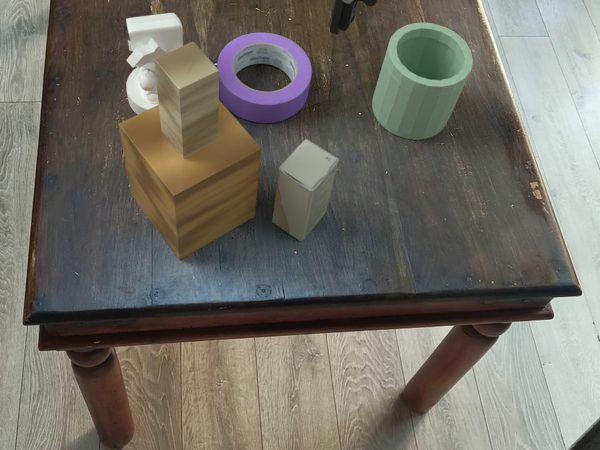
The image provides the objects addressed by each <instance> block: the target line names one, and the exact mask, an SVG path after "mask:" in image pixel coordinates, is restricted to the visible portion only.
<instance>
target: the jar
mask: <svg viewBox="0 0 600 450" xmlns="http://www.w3.org/2000/svg"><path fill="white" fill-rule="evenodd" d="M383 58H384V59H383V62H382V65H381V69H380V72H379V75H378V79H377V82H376V86H375V89H374V92H373V95H372V100H371V107H372V112H373V115H374V117H375V119H376V121H377V122H378V123H379V125H380V126H382V127H383V128H384V129H385V130H386V131H388V132H389V133H391V134H393V135H394V136H397V137H400V138H402V139H406V140H413V141H414V140H415V141H416V140H418V141H419V140H420V141H421V140H426V139H430V138H433V137H434V136H437V135H438V134H440V133H441V132H442V131H443V130H444V129H445V127H446V126H447V123H448V122H449V120H450V118H451V116H452V114H453V112H454V109H455V107H456V104H457V103H458V101H459V98H460V96H461V94H462V92H463V89H464V88H465V85H466V83H467V80H468V78H469V76H470V74H471V71H472V68H473V65H474V64H473V63H474V58H473V53H472V50H471V48H470V46H469V45H468V43H467V41H466V40H464V39H463V38H462V37H461V36H460V35H459V34H458V33H457V32H455V31H453V30H451V29H450V28H448V27H446V26H444V25H439V24H436V23H432V22H415V23H409V24H406V25H404V26H402V27H400V28H398V29H396V31H395V32H394V33H393V34H392V35H391V36H390V39H389V42H388V45H387V49H386V51H385V54H384V57H383Z"/></svg>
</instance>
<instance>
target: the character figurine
mask: <svg viewBox="0 0 600 450" xmlns="http://www.w3.org/2000/svg"><path fill="white" fill-rule="evenodd" d="M125 21H126V22H125V23H126V27H127V33H128V38H129V39H128V40H127V44H128V50H129V51H130V52H132V53H131V54H130V55H129V56H128V57H127V59H126V60H125V61H126V62H127V64H128V65H130V66H131V68H133V70H132V71H131V72H130V74H129V75H128V77H127V80H126V84H125V85H126V86H125V87H126V94H127V101H128V105H129V106H130V108H131V109H132V111H133V112H134V113H135V114H136V115H138V114H140V113H142V112H144V111H146V110H148V109H151V108H153V107H155V106H157V105H159V101H158V92H157V82H156V72H155V63H154V59H156V58H158V57H160V56H162V55H164V54H167V53H169V52H171V51H173V50H175V49H178V48H180V47H182V46H184V31H183V30H184V27H183V24H182V21H181V19H180V18H179V17H178V16H177V14H176V13H175V12H168V13H158V14H149V15H141V16H133V17H128V18H126V19H125ZM134 68H135V69H134Z"/></svg>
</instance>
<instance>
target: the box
mask: <svg viewBox="0 0 600 450" xmlns="http://www.w3.org/2000/svg"><path fill="white" fill-rule="evenodd" d="M339 160H340V159H339V158H338V157H336V156H335V155H333V154H332V153H330V152H329V151H327V150H326V149H324V148H323V147H321V146H320V145H317V144H316V143H314V142H312V141H311V140H309V139H307V138H305V139H304V140H303V141H302V142H301V143H300V144H299V145H298V146H297V147H296V148H295V149H294V150H293V151H292V153H291V154H290V155H289V156H288V157H287V158H286V160H284V161H283V162H282V164H281V165H280V166H279V168H278V172H277V173H278V174H277V180H276V189H275V196H274V204H273V213H272V220H271V221H272V224H274V225H276V226H277V227H279V229H282V231H284V232H285V233H287V234H288V235H290V236H292V237H293V238H294V239H296V240H297V241H299V242H302V241H304V240H305V239H306V237H307V236H308V235H309V234H311V232H312V231H313V229H314V228H315V227H316V226H317V225H318V223H319V222H320V221H321V220H322V218H323V217H324V216H325V214H326V212H327V208H328V206H329V205H328V204H329V200H330V196H331V193H332V189H333V186H334V181H335V178H336V173H337V169H338V166H339V162H340V161H339Z"/></svg>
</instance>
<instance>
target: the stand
mask: <svg viewBox="0 0 600 450" xmlns="http://www.w3.org/2000/svg"><path fill="white" fill-rule="evenodd" d="M118 129H119V136H120V140H121V146H122V151H123V156H124V162H125V167H126V172H127V178H128V183H129V188H130V194H131V197H132V198H133V200H134V201H135V203H136V204H137V206H139V208H140V209H141V210H142V212H143V213H144V215H145V216H146V217H147V218H148V220H149V221H150V223H151V224H152V225H153V226H154V228H155V229H156V231H157V232H158V233H159V235H160V236H161V237H162V239H163V240H164V241H165V243H166V244H167V246H169V249H171V251H172V252H173V253H174V256H176V258H177V259H178V260H179V261H181V260H183V259H185V258H187V257H188V256H190V255H192V254H193V253H195V252H197V251H198V250H200V249H202V248H203V247H205V246H207V245H209V244H210V243H212V242H214V241H215V240H217V239H219V238H221V237H222V236H224V235H226V234H227V233H229V232H231V231H232V230H234V229H236V228H237V227H240V226H242V224H244V223H246V222H247V221H249V220H251V219H253V218H255V216H256V206H257V196H258V187H259V186H258V185H259V177H260V167H261V156H262V147H261V146H260V145H259V144H258V143H257V142H256V140H255V139H254V138H253V136H251V135H250V134H249V132H248V131H247V129H246V128H244V126H243V125H242V124H241V123H240V122H239V120H238V119H237V118H236V117H235V116H234V115H233V113H232V112H231V111H230V110H229V109H228V108H227V107H226V106H225V105H224V104H223V102H222V101H221V99H219V128H218V141H217V142H215V143H213V144H211V145H210V146H208V147H206V148H204V149H202V150H200V151H198V152H196V153H194V154H192V155H191V156H189V157H187V158H185V159H183V157H182V156H181V155H180V154H179V152H178V151H177V150H176V149H175V147H174V146H173V145H172V144H171V142H170V141H169V140H168V139H167V137H166V136H165V135H164V134H163V132H162V130H161V121H160V111H159V105H157V106H155V107H153V108H151V109H148V110H146V111H144V112H142V113H140V114H136V115H134V116H132V117H130V118H127V119H126V120H124V121H121V122H119V123H118Z"/></svg>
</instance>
